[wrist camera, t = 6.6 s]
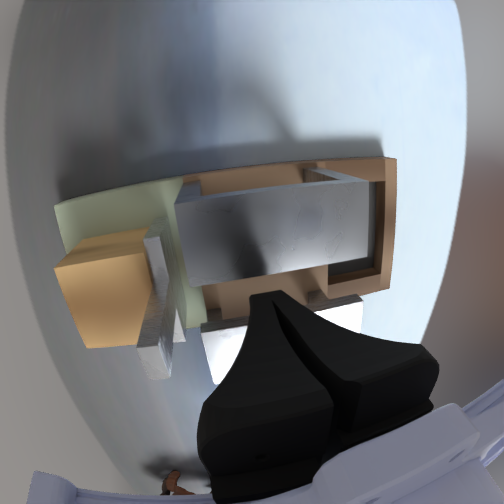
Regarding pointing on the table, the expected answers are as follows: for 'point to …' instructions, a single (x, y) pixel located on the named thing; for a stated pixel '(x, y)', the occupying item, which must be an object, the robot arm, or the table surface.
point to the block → (107, 287)
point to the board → (228, 180)
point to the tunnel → (272, 245)
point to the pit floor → (369, 260)
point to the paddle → (162, 303)
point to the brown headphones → (174, 485)
